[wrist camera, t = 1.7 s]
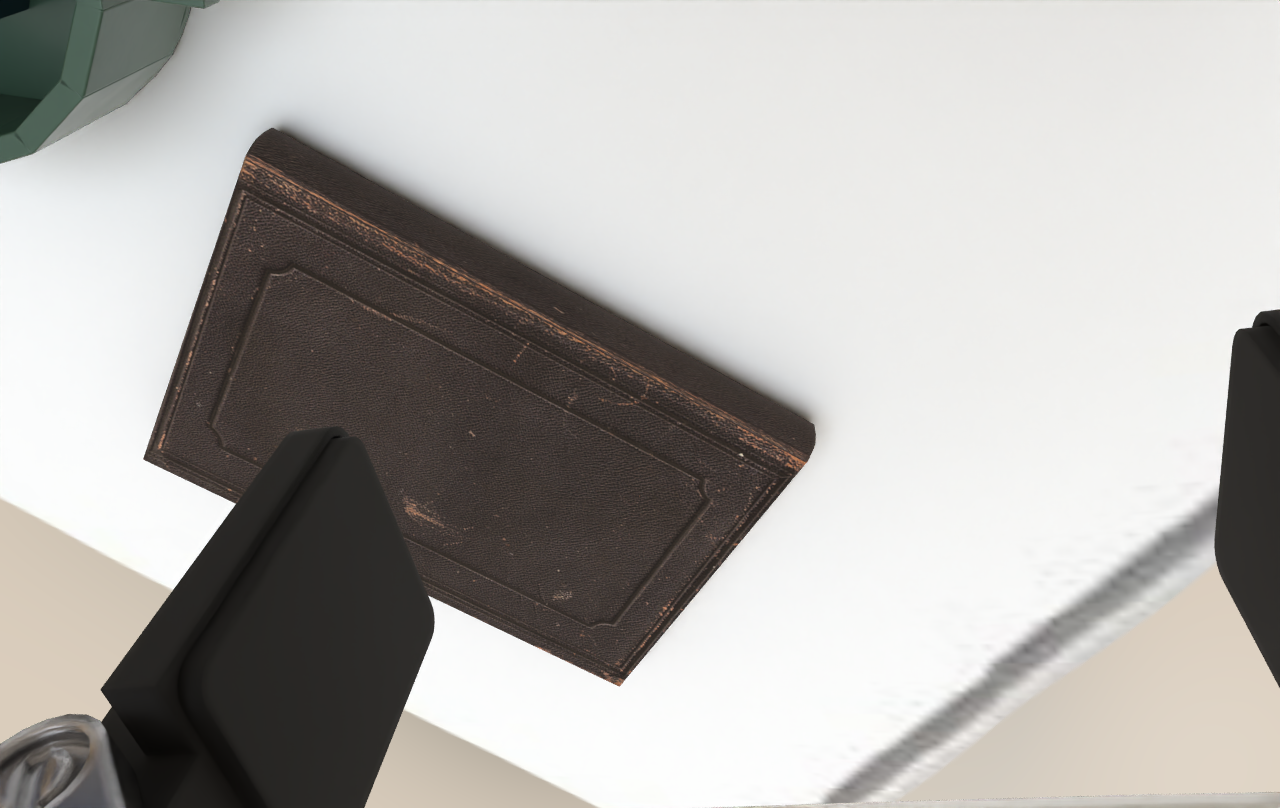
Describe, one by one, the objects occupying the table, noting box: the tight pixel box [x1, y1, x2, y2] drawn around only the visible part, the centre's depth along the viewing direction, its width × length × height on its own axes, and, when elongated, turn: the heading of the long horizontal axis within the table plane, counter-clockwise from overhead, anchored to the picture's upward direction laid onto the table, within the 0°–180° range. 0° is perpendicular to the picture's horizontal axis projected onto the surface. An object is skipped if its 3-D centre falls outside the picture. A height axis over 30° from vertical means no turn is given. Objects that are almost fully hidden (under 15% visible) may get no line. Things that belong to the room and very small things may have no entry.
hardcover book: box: [143, 128, 816, 686], centre depth 42 cm, size 16×23×2 cm
